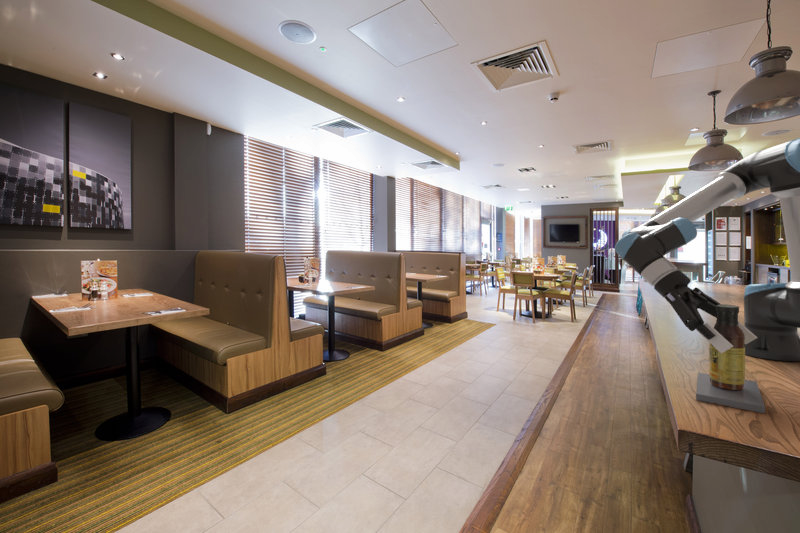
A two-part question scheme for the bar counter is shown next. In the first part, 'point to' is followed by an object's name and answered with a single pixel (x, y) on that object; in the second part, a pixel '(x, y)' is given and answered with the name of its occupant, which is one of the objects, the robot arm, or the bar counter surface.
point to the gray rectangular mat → (730, 394)
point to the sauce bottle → (728, 351)
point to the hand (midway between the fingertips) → (740, 345)
